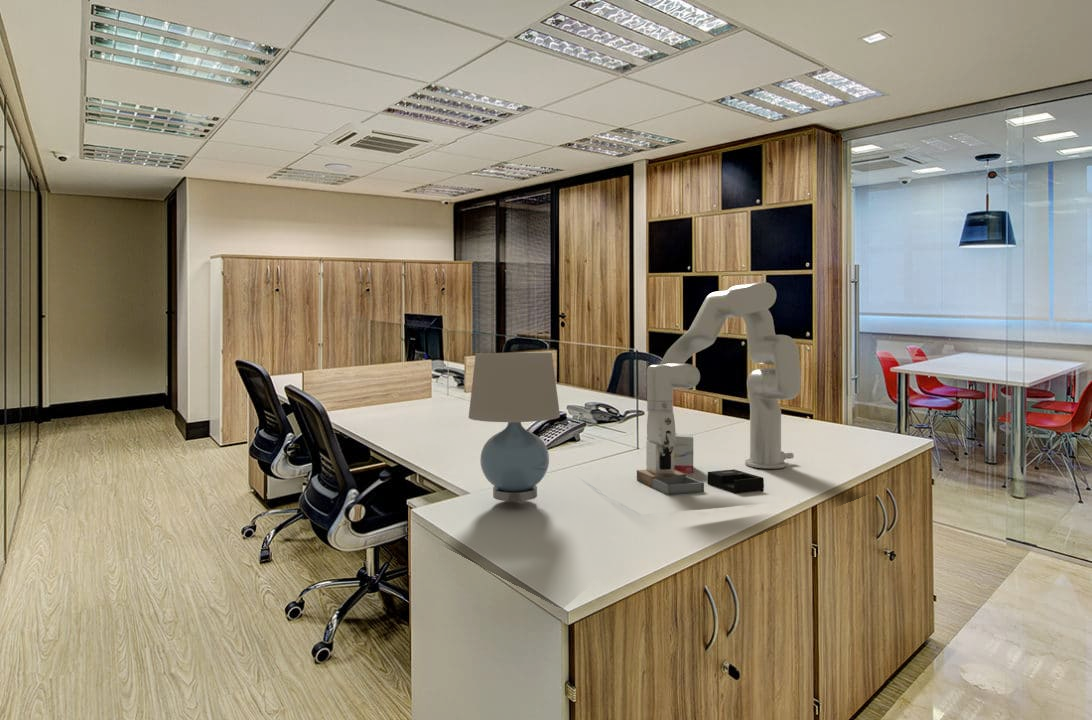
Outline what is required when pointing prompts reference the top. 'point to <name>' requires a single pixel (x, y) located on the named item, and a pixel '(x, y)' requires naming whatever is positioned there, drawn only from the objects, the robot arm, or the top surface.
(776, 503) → the top surface
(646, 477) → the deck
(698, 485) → the tray
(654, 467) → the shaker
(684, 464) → the ink box
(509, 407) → the lamp
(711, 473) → the battery charger
